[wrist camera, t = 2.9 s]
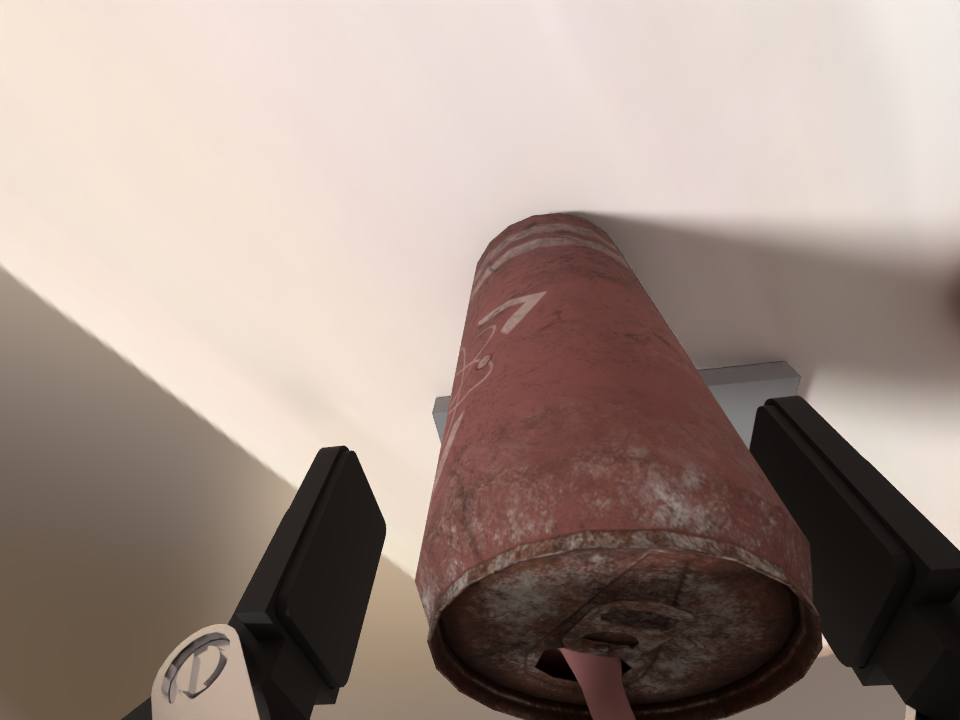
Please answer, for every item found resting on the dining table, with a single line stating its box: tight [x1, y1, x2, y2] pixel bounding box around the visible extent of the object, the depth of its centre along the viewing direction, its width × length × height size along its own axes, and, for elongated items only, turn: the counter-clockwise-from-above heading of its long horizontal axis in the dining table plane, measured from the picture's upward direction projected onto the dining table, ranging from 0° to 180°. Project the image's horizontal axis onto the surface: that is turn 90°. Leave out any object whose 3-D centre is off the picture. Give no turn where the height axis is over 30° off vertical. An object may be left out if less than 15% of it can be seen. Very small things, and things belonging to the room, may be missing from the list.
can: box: [415, 213, 822, 720], centre depth 12 cm, size 6×6×14 cm
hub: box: [432, 362, 800, 449], centre depth 23 cm, size 16×16×3 cm
